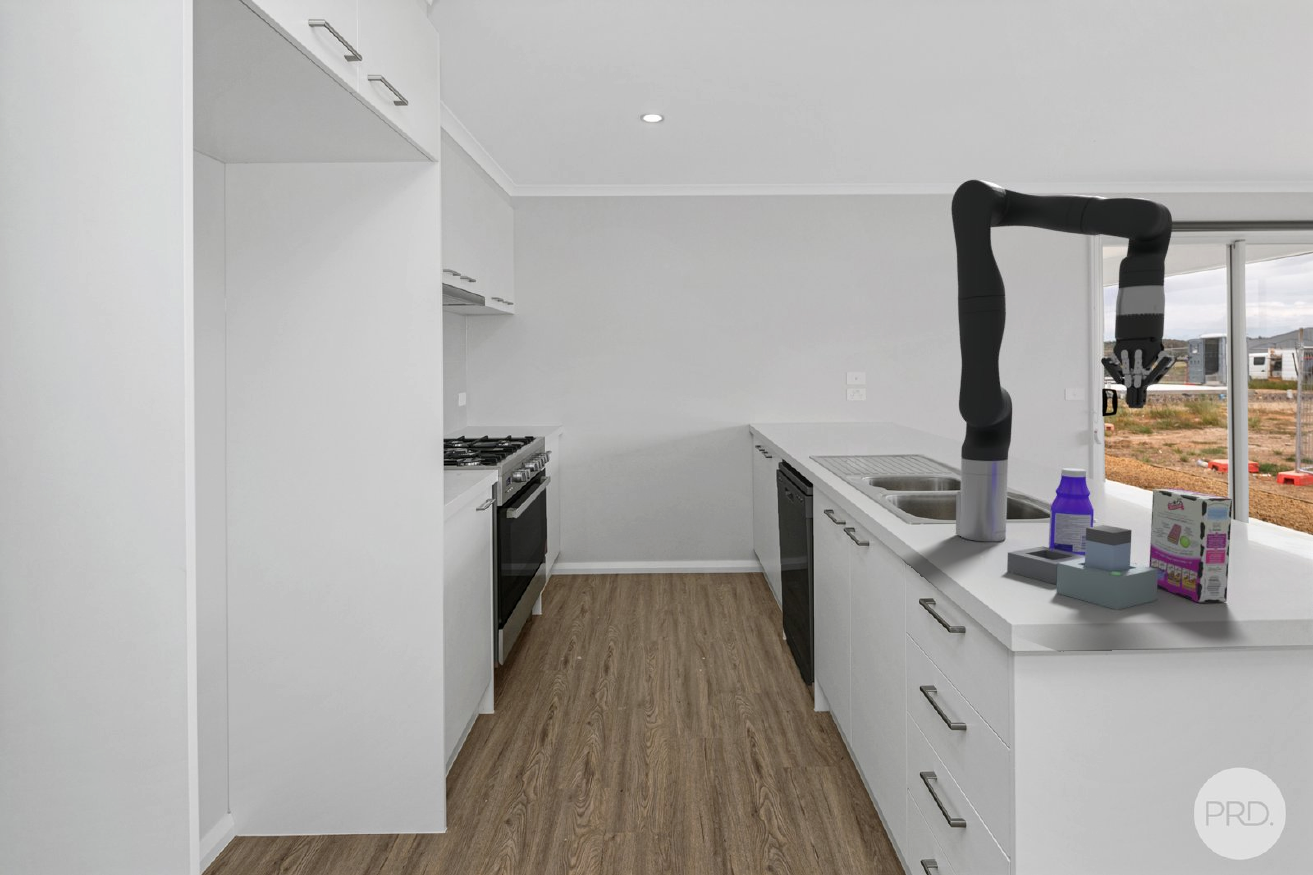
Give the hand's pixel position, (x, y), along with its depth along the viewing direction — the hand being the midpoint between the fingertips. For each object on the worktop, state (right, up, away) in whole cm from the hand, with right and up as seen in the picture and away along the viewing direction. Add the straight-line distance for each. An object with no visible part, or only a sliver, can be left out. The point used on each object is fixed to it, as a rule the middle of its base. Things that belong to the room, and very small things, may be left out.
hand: (1135, 408), depth 140 cm
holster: (-18, -30, -5) cm, 35 cm away
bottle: (-9, -29, +6) cm, 31 cm away
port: (-16, -31, -18) cm, 39 cm away
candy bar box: (-2, -31, -17) cm, 35 cm away
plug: (-16, -30, -18) cm, 38 cm away
